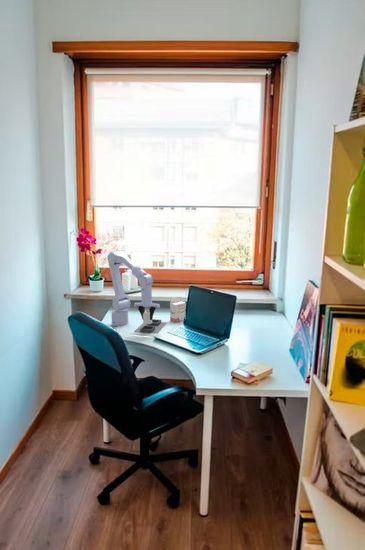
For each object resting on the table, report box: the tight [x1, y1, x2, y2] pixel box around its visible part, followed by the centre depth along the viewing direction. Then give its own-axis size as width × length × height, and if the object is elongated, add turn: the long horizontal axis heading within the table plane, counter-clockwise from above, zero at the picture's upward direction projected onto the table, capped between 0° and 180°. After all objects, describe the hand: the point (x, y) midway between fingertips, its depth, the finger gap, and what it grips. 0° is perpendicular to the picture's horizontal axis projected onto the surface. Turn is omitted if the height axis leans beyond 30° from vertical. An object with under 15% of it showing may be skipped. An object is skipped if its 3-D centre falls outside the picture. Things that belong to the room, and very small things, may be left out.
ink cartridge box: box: [169, 296, 186, 323], centre depth 248 cm, size 9×5×15 cm, turn 130°
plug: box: [142, 309, 152, 324], centre depth 230 cm, size 4×4×7 cm
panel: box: [133, 319, 168, 335], centre depth 237 cm, size 14×20×2 cm
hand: (147, 319), depth 230 cm, fingers closed on plug, 4 cm apart
